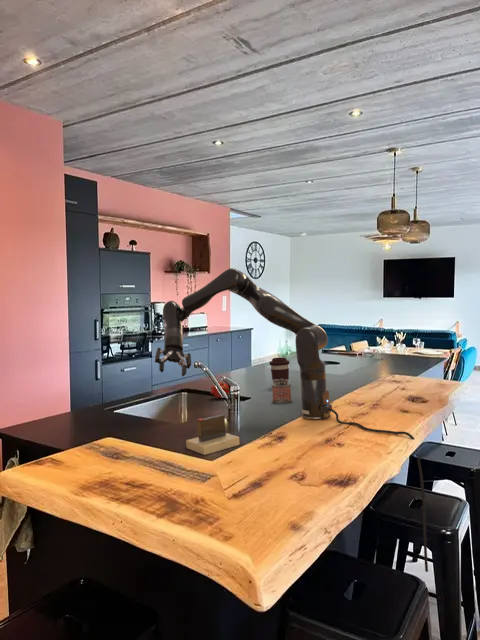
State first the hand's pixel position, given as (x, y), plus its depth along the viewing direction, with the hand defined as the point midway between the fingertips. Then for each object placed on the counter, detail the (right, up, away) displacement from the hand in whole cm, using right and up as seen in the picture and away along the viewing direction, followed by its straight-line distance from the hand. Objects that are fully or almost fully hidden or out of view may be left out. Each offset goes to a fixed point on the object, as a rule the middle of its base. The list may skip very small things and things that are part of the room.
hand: (172, 373), depth 188 cm
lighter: (+44, -15, +19) cm, 50 cm away
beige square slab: (+18, -18, -40) cm, 47 cm away
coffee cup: (+47, -13, +53) cm, 72 cm away
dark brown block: (+18, -16, -40) cm, 46 cm away
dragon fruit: (+18, -16, +36) cm, 43 cm away
